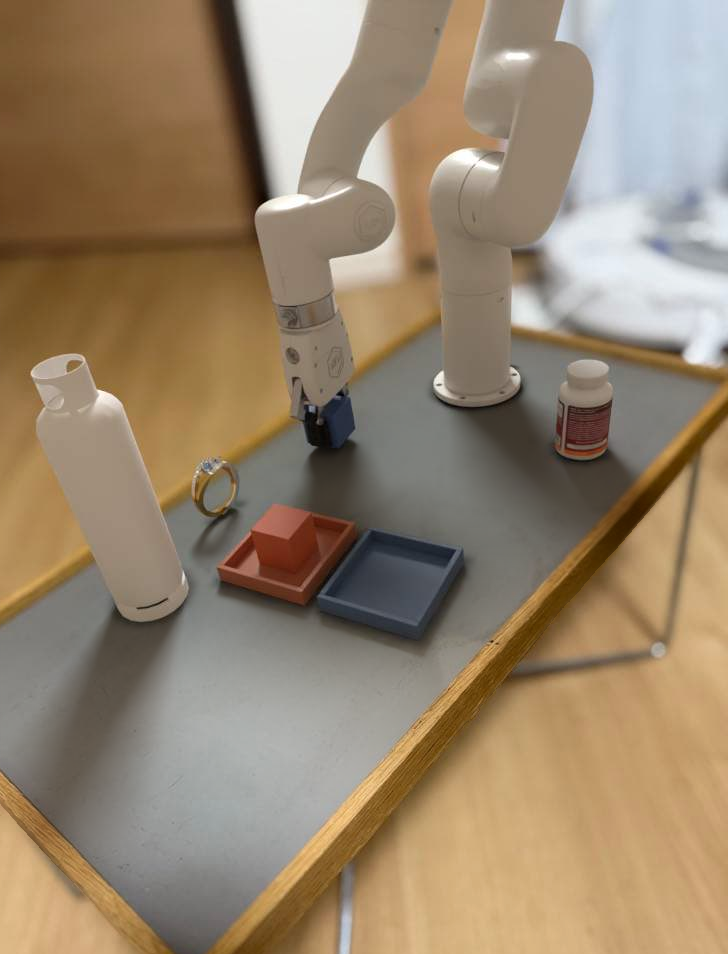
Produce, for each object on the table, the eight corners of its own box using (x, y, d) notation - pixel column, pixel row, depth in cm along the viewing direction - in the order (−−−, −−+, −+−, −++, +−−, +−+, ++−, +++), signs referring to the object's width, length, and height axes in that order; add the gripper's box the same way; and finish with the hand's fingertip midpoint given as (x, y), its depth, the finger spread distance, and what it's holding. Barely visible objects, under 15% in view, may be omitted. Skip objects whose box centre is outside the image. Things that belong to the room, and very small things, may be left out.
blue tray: (371, 539, 81) (369, 525, 80) (464, 561, 76) (463, 547, 74) (319, 610, 73) (316, 596, 72) (418, 640, 68) (417, 626, 67)
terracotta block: (282, 537, 83) (274, 503, 80) (318, 546, 80) (312, 512, 77) (259, 563, 80) (249, 529, 76) (296, 574, 77) (288, 539, 74)
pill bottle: (617, 448, 87) (628, 366, 80) (582, 468, 85) (591, 386, 78) (577, 430, 92) (585, 351, 85) (543, 448, 90) (548, 369, 83)
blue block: (324, 424, 100) (318, 393, 96) (355, 428, 97) (350, 396, 94) (307, 443, 97) (300, 412, 93) (338, 448, 94) (332, 416, 91)
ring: (235, 495, 92) (221, 443, 87) (251, 502, 90) (238, 450, 85) (194, 523, 88) (177, 470, 83) (210, 532, 86) (193, 478, 81)
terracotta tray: (277, 516, 87) (274, 503, 85) (357, 536, 82) (355, 522, 80) (220, 580, 79) (216, 567, 78) (304, 606, 74) (301, 592, 73)
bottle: (102, 611, 78) (-9, 383, 60) (147, 565, 83) (56, 342, 65) (160, 629, 74) (59, 392, 57) (202, 579, 80) (122, 348, 62)
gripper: (296, 342, 78) (325, 474, 90) (364, 280, 89) (382, 405, 100) (242, 338, 82) (276, 465, 93) (314, 278, 92) (337, 400, 104)
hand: (331, 433), depth 97 cm, fingers closed on blue block, 5 cm apart
